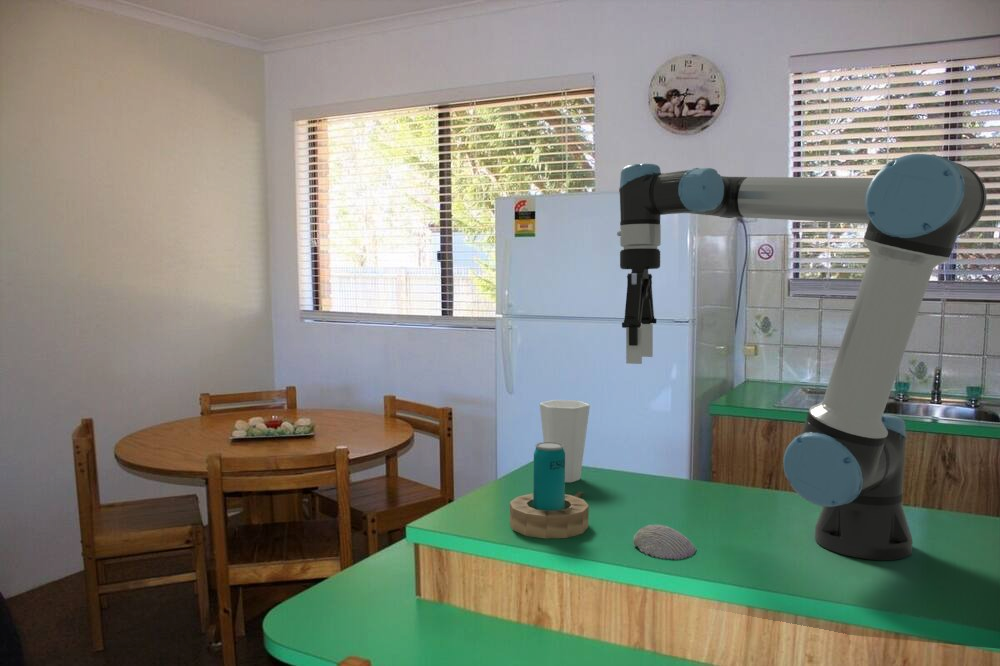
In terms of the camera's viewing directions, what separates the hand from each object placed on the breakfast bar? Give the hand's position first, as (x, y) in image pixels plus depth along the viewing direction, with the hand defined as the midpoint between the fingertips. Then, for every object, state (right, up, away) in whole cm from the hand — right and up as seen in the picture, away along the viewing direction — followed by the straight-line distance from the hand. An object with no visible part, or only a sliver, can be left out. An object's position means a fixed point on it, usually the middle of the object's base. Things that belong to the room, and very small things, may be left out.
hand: (640, 360), depth 147 cm
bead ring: (-18, -30, -5) cm, 35 cm away
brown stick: (-12, -29, +8) cm, 33 cm away
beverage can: (-18, -31, -5) cm, 36 cm away
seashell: (+1, -32, -17) cm, 36 cm away
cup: (-12, -28, +27) cm, 41 cm away
